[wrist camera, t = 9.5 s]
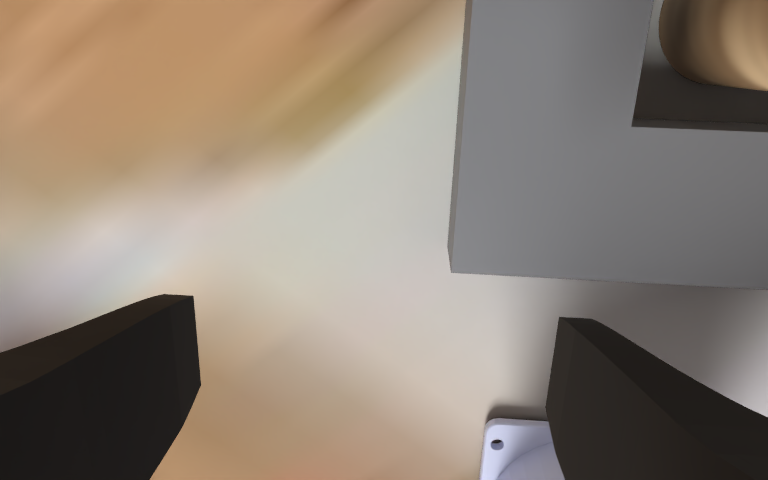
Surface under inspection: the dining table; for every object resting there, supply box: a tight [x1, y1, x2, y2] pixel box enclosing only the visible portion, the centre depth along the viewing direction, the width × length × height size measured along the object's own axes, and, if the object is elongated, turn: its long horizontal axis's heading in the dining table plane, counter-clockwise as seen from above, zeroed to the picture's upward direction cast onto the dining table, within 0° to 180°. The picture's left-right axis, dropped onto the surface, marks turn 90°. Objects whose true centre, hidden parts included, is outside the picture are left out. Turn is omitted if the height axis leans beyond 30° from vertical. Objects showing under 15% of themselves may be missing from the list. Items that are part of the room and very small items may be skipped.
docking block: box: [448, 0, 768, 290], centre depth 16 cm, size 16×16×2 cm
